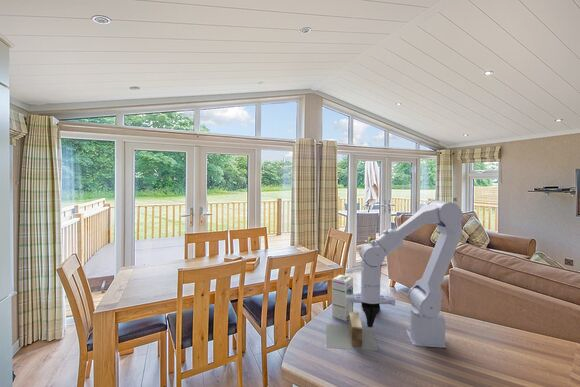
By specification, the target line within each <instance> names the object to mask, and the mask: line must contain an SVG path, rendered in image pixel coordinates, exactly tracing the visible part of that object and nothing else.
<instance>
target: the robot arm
mask: <svg viewBox="0 0 580 387" xmlns="http://www.w3.org/2000/svg"><path fill="white" fill-rule="evenodd" d="M463 218H464V213H463V211H462V210H461V207H460V206H459V205H458V204H457V203H455V202H452V201H443V200H439V199H432V200H429V201H428V202H427V203H426V204H423V205H422V206H421V207H420V208H419V209H418V210H417V211H416V212H414V214H413V215H412V216H409V218H408V219H407V220H405V221H404V222H403V223H402V224H400V225H399V226H398V227H397V228H395V229H394V228H389V229H388V230H387V229H384V230H383V231H382V234H381V235H379V236H378V237H376V239H375V240H372V241H370V242H371V244H370V243H369V244H368V243H365V244H364V245H362V246H361V247H360V248H361V249H360V250H359V252H358V255H359V256H360V258H361V261H362V264H361V268H360V270H361V272H360V273H361V274H360V276H361V277H360V293H357V294H356V293H355V294H354V293H353V295H346V301H347V303H350V302H351V303H353V304H354V303H355V304H361V305H362V307H363V308H362V307H361V308H362V310H363V312H364V314H365V318H366V325H367V327H371V328H373V327H374V322H375V319H376V317H377V315H378V314H379V312H380V311H381V306H380V305H390V306H396V298H395V297H394V296H390V295H389V296H388V295H382V294H381V279H380V277H381V276H382V269H381V270H380V267H381V268H382V265H383V262H384V260H385V257H386V256H388V255H389V254H391V253H392V252H393V251H395V250H396V249H398V248H399V247H400V246H402V245H403V242H404V238H406V237H407V236H409V235H411V234H412V233H414V232H415V231H417V230H419V229H420V228H422V227H423V226H425V225H426V224H429V225H431V224H435V226H436V227H437V229H438V231H439V232H440V233H439V235H438V238H437V239H436V243H435V245H434V248H433V250H432V252H431V255H430V256H429V260H428V262H427V265H426V267H425V270H424V272H423V274H422V277H421V278H420V279H417V280H416V281H415V283H414V285H413V286H412V287H411V288H410V289H409V290H408V292H407V298H408V301H409V302H410V304H411V307H410V327H409V328H410V330H405V333H406V334H407V336H408V338H409V340H410V342H411V343H412V345H413V346H418V347H419V346H420V347H429V348H447V345H446V329H447V328H446V325H447V324H446V321H445V320H446V319H445V316H444V314H443V313H442V312H441V310H442V299H443V293H442V290H441V285H442V283H443V281H444V278H445V275H446V274H447V272H448V269H449V267H450V264H451V262H452V259H453V256H454V254H455V252H456V250H457V247H458V245H459V242H460V240H461V237H462V234H463V223H462V222H463V221H462V220H463Z"/></svg>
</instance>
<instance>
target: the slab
mask: <svg viewBox="0 0 580 387" xmlns="http://www.w3.org/2000/svg"><path fill="white" fill-rule="evenodd" d="M348 326H349V333H350V338H351V344H352V346H359V347H362V327H363V323H362V322H361V317H360V314H359V312H354V311H353V312H349V319H348Z"/></svg>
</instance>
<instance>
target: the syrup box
mask: <svg viewBox="0 0 580 387" xmlns="http://www.w3.org/2000/svg"><path fill="white" fill-rule="evenodd" d="M353 294H354V278H353V276H350V275H344V274H338V275H337V276H335V277H333V278H332V279H331V315H332V316H331V317H333V318H335V319H338V320H342V321H345V322H347V321H349V312H354V303H351V302H350V303H347V301H346V295H353Z"/></svg>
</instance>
